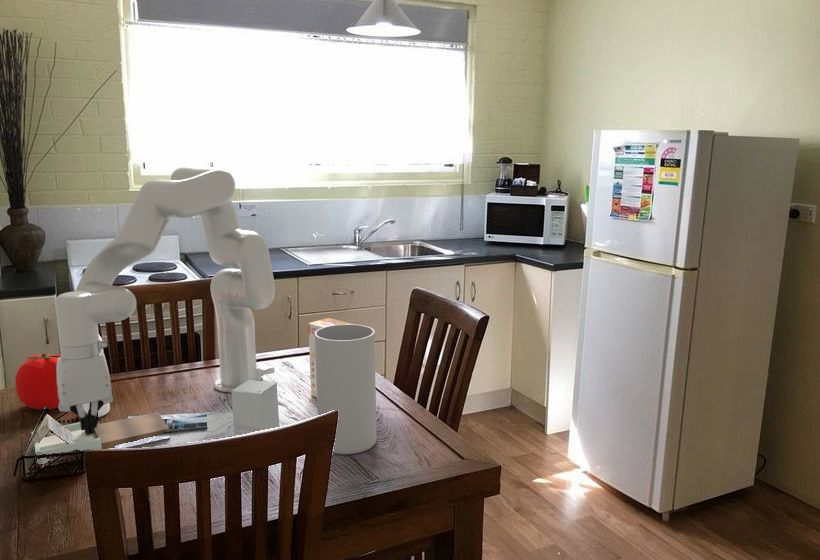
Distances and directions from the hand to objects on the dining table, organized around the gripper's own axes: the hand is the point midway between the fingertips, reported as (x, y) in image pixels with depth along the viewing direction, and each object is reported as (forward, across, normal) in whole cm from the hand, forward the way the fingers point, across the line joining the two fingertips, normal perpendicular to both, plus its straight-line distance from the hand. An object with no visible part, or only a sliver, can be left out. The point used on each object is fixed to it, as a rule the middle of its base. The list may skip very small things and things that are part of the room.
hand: (89, 431), depth 150 cm
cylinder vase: (+4, -47, +29) cm, 56 cm away
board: (+3, -8, 0) cm, 9 cm away
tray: (+3, +5, 0) cm, 6 cm away
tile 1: (+3, +7, 0) cm, 8 cm away
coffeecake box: (+4, -57, +5) cm, 58 cm away
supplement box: (+4, -31, +17) cm, 36 cm away
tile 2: (+3, +2, 0) cm, 3 cm away
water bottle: (+4, -3, -19) cm, 20 cm away
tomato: (+4, +5, -31) cm, 32 cm away
